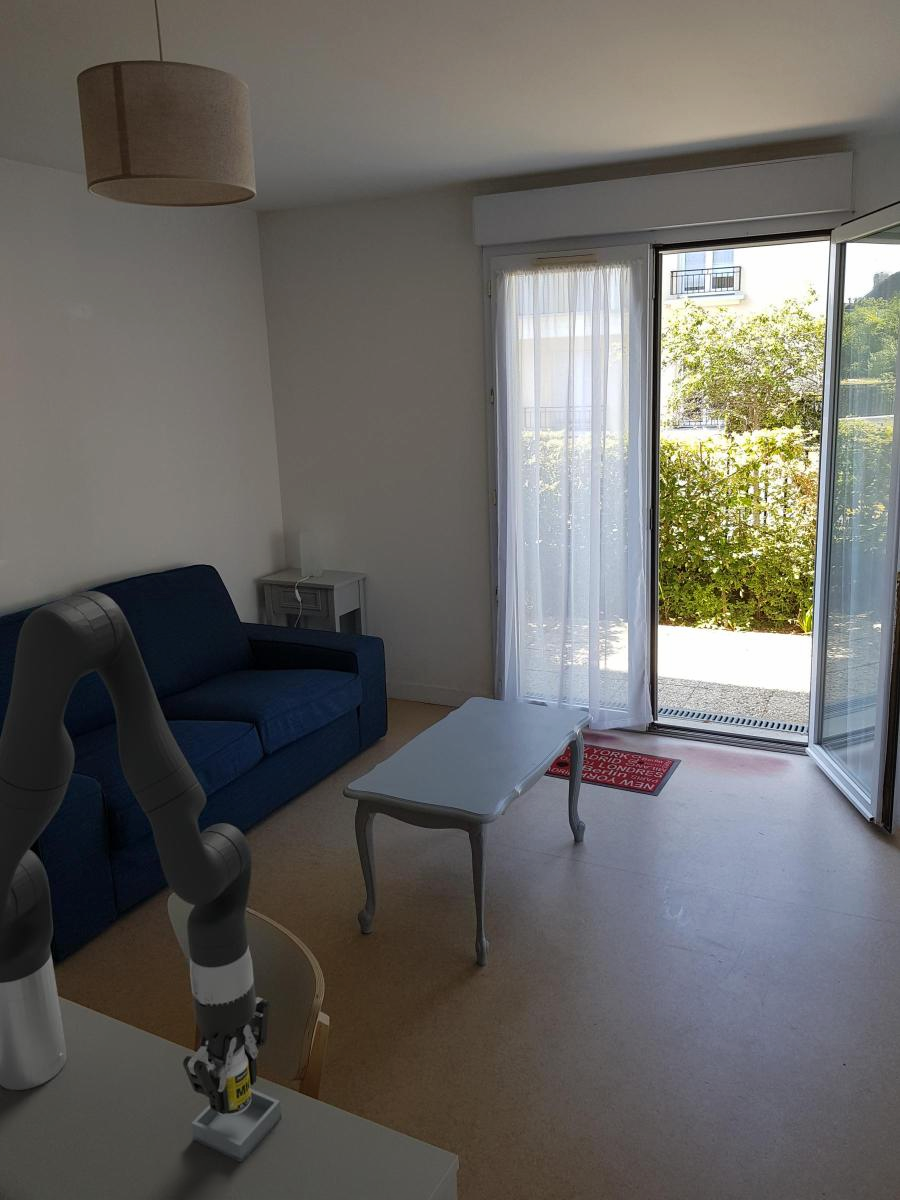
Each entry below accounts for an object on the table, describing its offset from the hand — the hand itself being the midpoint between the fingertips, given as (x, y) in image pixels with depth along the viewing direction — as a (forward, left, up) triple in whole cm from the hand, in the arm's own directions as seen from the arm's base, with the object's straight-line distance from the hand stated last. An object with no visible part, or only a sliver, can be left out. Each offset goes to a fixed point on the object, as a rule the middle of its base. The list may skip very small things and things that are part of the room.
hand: (234, 1095), depth 120 cm
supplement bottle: (0, 0, -2) cm, 2 cm away
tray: (0, 0, -5) cm, 5 cm away
